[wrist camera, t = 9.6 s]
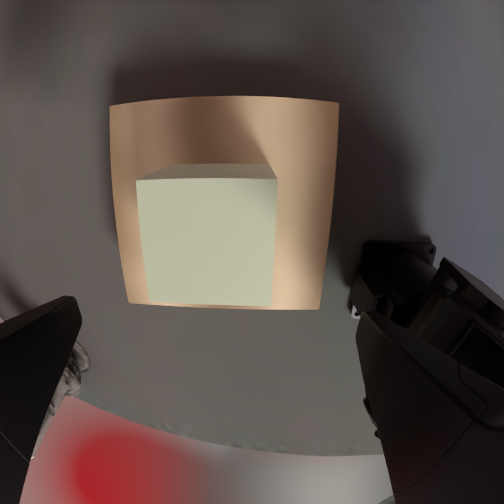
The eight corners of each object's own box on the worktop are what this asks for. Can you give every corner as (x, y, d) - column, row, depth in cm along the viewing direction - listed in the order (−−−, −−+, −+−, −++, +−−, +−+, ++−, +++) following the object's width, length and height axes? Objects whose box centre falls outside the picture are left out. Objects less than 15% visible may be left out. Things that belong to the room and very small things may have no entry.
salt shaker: (65, 324, 24) (3, 413, 12) (103, 367, 26) (59, 460, 15) (39, 339, 25) (-15, 416, 14) (73, 377, 27) (32, 457, 16)
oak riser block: (321, 108, 17) (339, 102, 13) (308, 279, 21) (318, 309, 18) (136, 109, 17) (109, 105, 13) (147, 274, 21) (128, 302, 18)
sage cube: (269, 164, 14) (277, 179, 10) (265, 256, 16) (271, 306, 12) (171, 164, 14) (135, 180, 10) (176, 254, 16) (149, 301, 12)
